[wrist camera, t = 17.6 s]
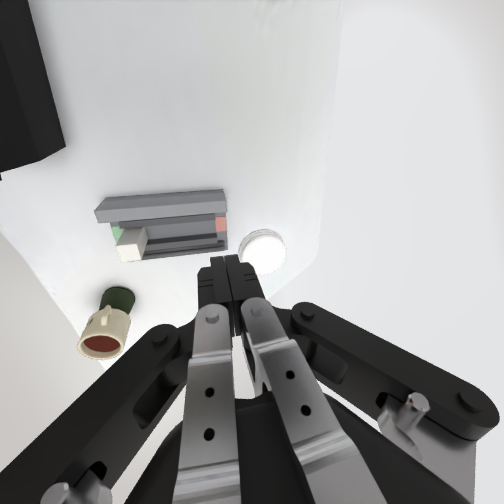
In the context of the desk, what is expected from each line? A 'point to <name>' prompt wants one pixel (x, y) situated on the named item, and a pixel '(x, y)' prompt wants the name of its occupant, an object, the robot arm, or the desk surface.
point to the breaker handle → (132, 244)
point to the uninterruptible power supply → (24, 92)
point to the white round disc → (263, 251)
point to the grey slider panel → (170, 221)
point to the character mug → (108, 326)
